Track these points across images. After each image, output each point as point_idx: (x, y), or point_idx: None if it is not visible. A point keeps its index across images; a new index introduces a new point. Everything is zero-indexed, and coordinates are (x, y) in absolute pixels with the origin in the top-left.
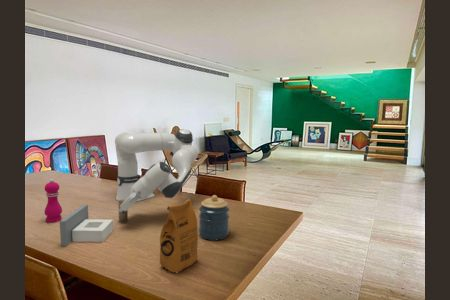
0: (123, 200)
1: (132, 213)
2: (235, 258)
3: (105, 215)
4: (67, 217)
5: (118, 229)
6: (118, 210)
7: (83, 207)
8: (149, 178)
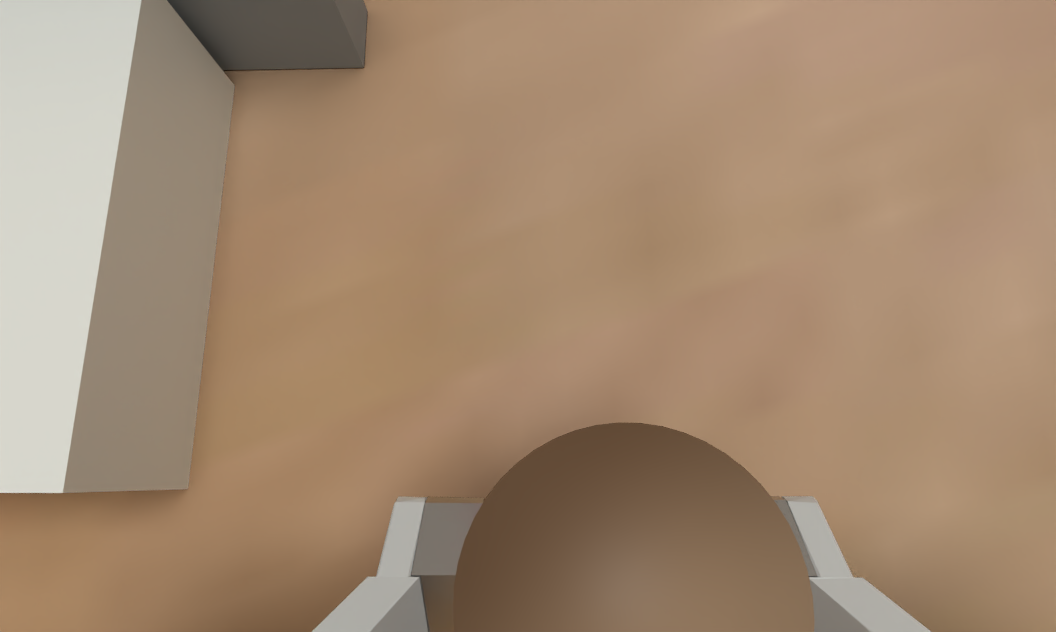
0: (670, 621)
1: (1004, 592)
2: None
3: (816, 137)
4: None
5: (194, 573)
6: (403, 498)
7: None
8: None
